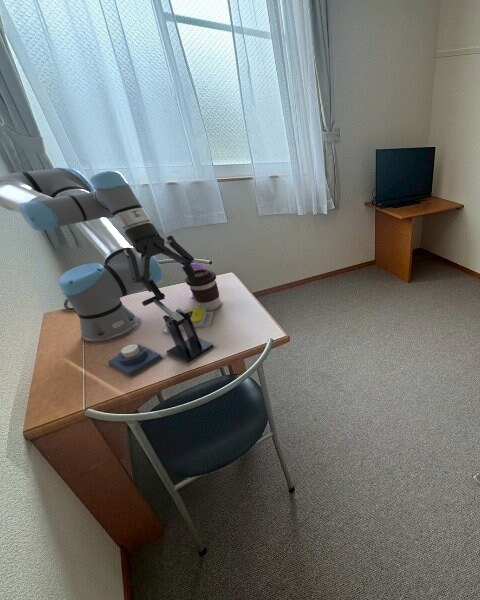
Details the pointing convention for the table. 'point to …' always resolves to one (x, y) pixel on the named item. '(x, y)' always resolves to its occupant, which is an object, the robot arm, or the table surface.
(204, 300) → the coffee cup
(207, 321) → the yellow grey flat box
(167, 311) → the lever
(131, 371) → the button block
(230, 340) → the table surface
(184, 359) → the stand
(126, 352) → the button
